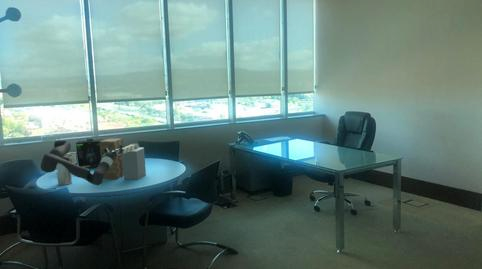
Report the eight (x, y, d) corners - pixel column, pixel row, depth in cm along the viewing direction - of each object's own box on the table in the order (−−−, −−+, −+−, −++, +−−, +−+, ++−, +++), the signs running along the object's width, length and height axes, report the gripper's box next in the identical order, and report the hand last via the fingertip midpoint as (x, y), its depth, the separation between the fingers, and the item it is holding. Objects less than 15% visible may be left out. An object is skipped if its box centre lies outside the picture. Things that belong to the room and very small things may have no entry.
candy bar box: (76, 169, 336) (74, 151, 333) (78, 170, 332) (76, 152, 329) (63, 172, 329) (61, 153, 326) (64, 173, 325) (62, 154, 322)
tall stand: (116, 179, 298) (113, 141, 294) (102, 179, 301) (99, 141, 296) (125, 174, 312) (122, 138, 308) (111, 174, 314) (108, 138, 310)
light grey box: (138, 179, 295) (136, 150, 292) (124, 179, 297) (121, 150, 294) (145, 174, 309) (143, 147, 306) (132, 174, 311) (129, 147, 308)
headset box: (78, 169, 338) (75, 140, 334) (81, 166, 350) (78, 138, 346) (104, 167, 342) (102, 138, 339) (106, 164, 354) (104, 136, 350)
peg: (125, 153, 283) (125, 148, 282) (119, 153, 284) (119, 148, 283) (138, 148, 304) (138, 143, 304) (132, 148, 305) (132, 143, 305)
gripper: (115, 156, 262) (123, 141, 275) (96, 156, 265) (105, 141, 277) (118, 164, 267) (126, 149, 279) (99, 164, 269) (108, 149, 282)
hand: (116, 145), depth 278 cm, fingers open, 8 cm apart
